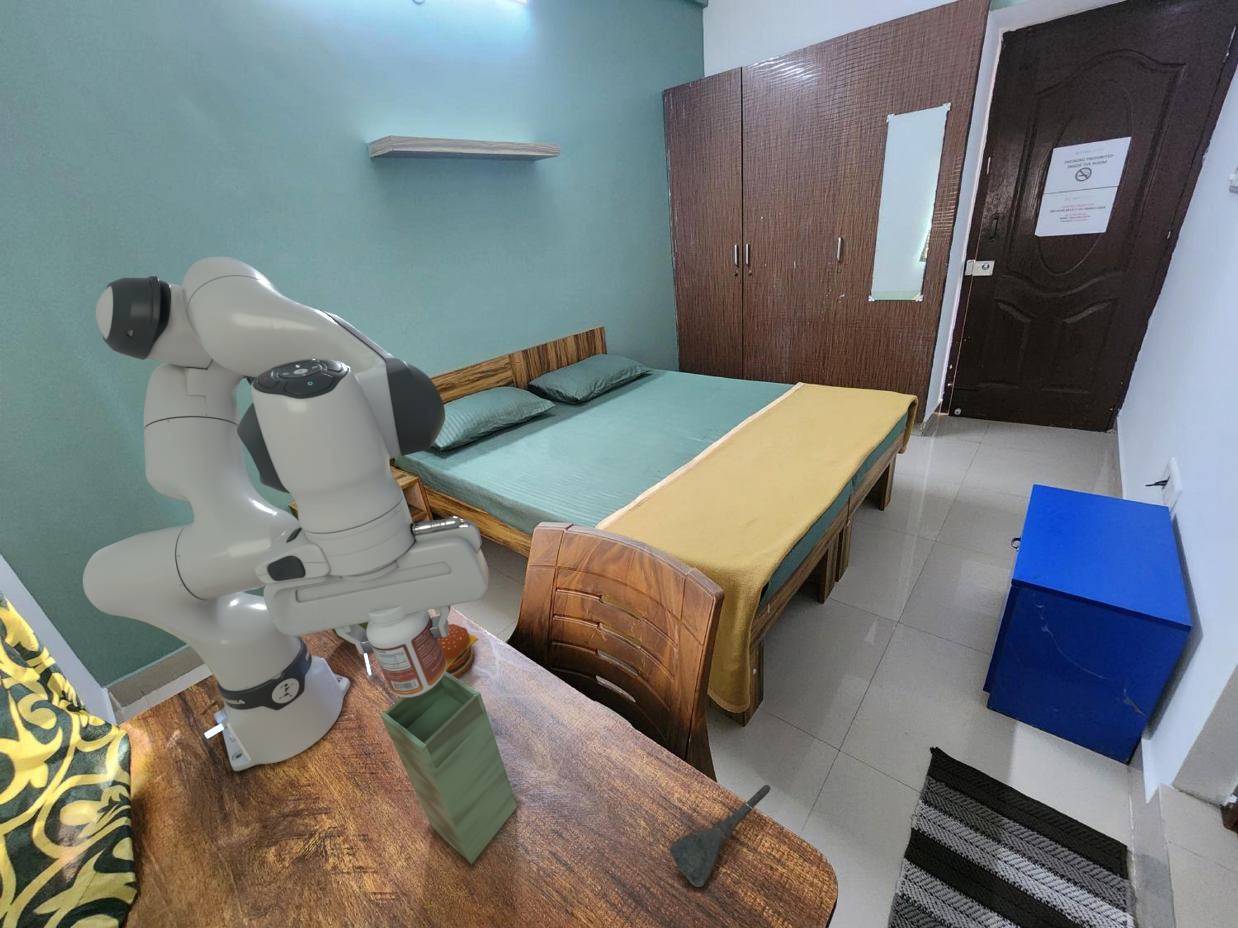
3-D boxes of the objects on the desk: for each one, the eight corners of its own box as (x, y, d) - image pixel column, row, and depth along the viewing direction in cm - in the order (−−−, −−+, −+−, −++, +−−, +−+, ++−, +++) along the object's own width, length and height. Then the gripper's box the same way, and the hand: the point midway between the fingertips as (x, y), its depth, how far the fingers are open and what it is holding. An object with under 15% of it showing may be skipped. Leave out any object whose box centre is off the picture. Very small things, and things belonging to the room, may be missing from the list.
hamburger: (450, 690, 87) (440, 662, 84) (412, 673, 91) (401, 646, 88) (486, 651, 94) (478, 624, 91) (449, 637, 99) (441, 611, 96)
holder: (432, 828, 67) (380, 715, 57) (478, 776, 72) (438, 666, 63) (471, 864, 62) (422, 748, 53) (517, 806, 68) (480, 692, 59)
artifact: (665, 851, 61) (693, 895, 58) (667, 847, 60) (695, 891, 57) (753, 770, 68) (782, 806, 65) (756, 765, 67) (785, 801, 64)
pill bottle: (436, 646, 60) (409, 571, 55) (456, 676, 55) (429, 597, 50) (382, 676, 56) (349, 599, 52) (400, 710, 52) (365, 629, 47)
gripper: (476, 498, 52) (504, 602, 58) (266, 535, 49) (317, 640, 55) (471, 530, 46) (502, 642, 52) (234, 574, 44) (295, 686, 50)
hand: (405, 641), depth 54 cm, fingers closed on pill bottle, 6 cm apart
